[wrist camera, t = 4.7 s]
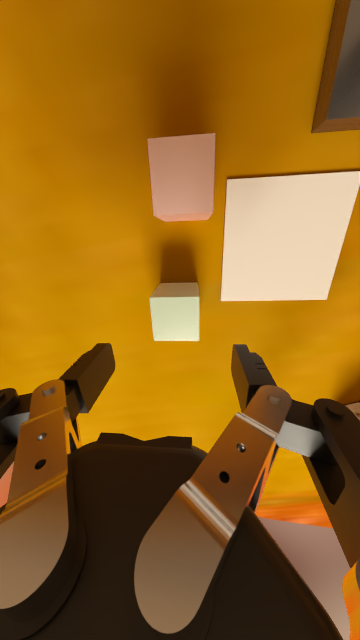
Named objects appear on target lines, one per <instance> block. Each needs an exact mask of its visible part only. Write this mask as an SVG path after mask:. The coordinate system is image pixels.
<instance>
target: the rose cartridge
mask: <svg viewBox="0 0 360 640" xmlns="http://www.w3.org/2000/svg"><path fill="white" fill-rule="evenodd" d="M215 134H216V133H209V134H197V135H185V136H173V137H160V138H148V139H147V141H148V153H149V165H150V177H151V189H152V201H153V214H154V216H155V217H157V218H159V219H161V220H163V221H164V222H170V221H191V220H208V219H209V217H210V216H211V215H212V213H213V202H214V168H215Z"/></svg>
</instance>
